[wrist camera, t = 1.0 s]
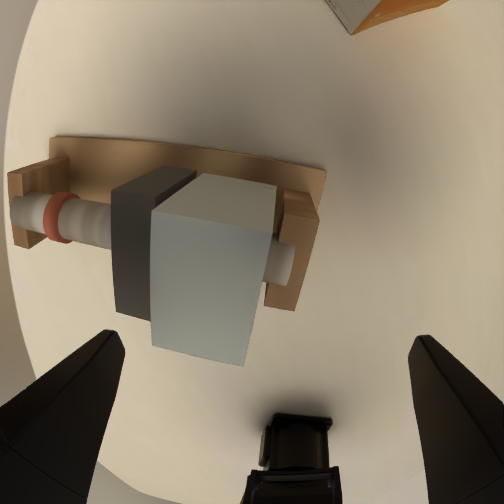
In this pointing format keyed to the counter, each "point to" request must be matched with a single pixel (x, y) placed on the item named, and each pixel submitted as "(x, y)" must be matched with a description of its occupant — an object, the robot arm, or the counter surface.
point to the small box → (376, 11)
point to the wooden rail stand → (146, 160)
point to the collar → (138, 234)
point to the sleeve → (209, 266)
